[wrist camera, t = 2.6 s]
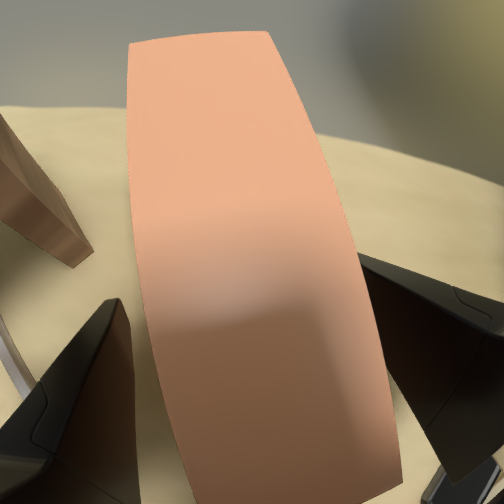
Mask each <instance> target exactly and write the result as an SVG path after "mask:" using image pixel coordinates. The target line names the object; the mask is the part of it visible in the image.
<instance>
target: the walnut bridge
mask: <svg viewBox="0 0 504 504" xmlns="http://www.w3.org/2000/svg"><path fill="white" fill-rule="evenodd" d="M0 220H1V221H3V222H4V223H6V224H7V225H8V226H10V227H11V228H13V229H14V230H15V231H17V232H18V233H20V234H21V235H22V236H24V237H25V238H27V239H28V240H30V241H31V242H33V243H34V244H36V245H37V246H39V247H40V248H42V249H43V250H45V251H46V252H48V253H49V254H51V255H52V256H54V257H55V258H57V259H59V260H60V261H62V262H63V263H65V264H66V265H68V266H70V267H71V268H74V267H75V266H77V265H78V264H79V263H80V262H82V261H83V260H84V259H85V258H87V257H88V256H89V255H90V254H92V253H93V252H94V250H93V249H92V247H91V245H90V244H89V242H88V240H87V239H86V237H85V235H84V234H83V232H82V230H81V229H80V227H79V225H78V223H77V222H76V220H75V218H74V216H73V214H72V213H71V211H70V209H69V207H68V205H67V203H66V202H65V200H64V198H63V196H62V194H61V192H60V191H59V190H58V189H57V187H56V186H55V185H54V184H53V183H52V181H51V180H50V179H49V178H48V176H47V175H46V174H45V173H44V171H43V170H42V169H41V168H40V166H39V165H38V164H37V163H36V161H35V160H34V159H33V158H32V156H31V155H30V154H29V152H28V151H27V150H26V148H25V147H24V146H23V144H22V143H21V142H20V140H19V139H18V138H17V136H16V135H15V134H14V132H13V131H12V129H11V128H10V127H9V125H8V124H7V122H6V121H5V120H4V118H3V117H2V115H1V114H0ZM0 359H1V361H2V363H3V365H4V367H5V369H6V371H7V372H8V374H9V376H10V378H11V380H12V381H13V383H14V385H15V387H16V388H17V390H18V392H19V393H20V395H21V397H22V398H23V400H24V399H25V398H26V397H27V396H28V394H29V393H30V392H31V390H32V389H33V388H34V386H35V385H36V382H35V380H34V379H33V377H32V375H31V374H30V372H29V370H28V369H27V367H26V365H25V363H24V362H23V360H22V358H21V356H20V354H19V353H18V351H17V349H16V347H15V345H14V343H13V341H12V339H11V337H10V335H9V333H8V331H7V329H6V327H5V325H4V323H3V320H2V318H1V316H0Z"/></svg>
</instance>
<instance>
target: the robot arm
mask: <svg viewBox="0 0 504 504" xmlns="http://www.w3.org/2000/svg"><path fill="white" fill-rule="evenodd" d="M357 255H358V258H359V261H360V265H361V268H362V272H363V275H364V279H365V282H366V286H367V290H368V293H369V297H370V301H371V305H372V309H373V313H374V317H375V321H376V325H377V329H378V333H379V338H380V342H381V347H382V351H383V356H384V361H385V365H386V367H387V369H388V371H389V372H390V374H391V376H392V377H393V379H394V381H395V382H396V384H397V386H398V387H399V389H400V391H401V393H402V394H403V396H404V398H405V399H406V401H407V403H408V405H409V406H410V408H411V410H412V412H413V413H414V415H415V417H416V419H417V420H418V422H419V424H420V426H421V427H422V429H423V431H425V432H424V433H425V435H426V437H427V439H428V440H429V442H430V444H431V446H432V448H433V449H434V451H435V453H436V455H437V457H438V459H439V461H440V462H441V464H442V466H443V468H444V470H445V472H446V474H447V476H448V478H449V480H450V481H451V483H452V485H453V486H454V485H455V484H457V483H458V482H459V481H461V480H462V479H463V478H465V477H466V476H467V475H469V474H470V473H471V472H473V471H474V470H475V469H476V468H478V467H479V466H480V465H481V464H483V463H484V462H485V461H486V460H487V459H489V458H490V457H491V456H492V457H493V459H494V460H495V462H496V463H497V464H498V466H499V467H500V469H501V470H502V472H503V473H504V303H502V302H499V301H496V300H493V299H489V298H486V297H483V296H480V295H477V294H474V293H471V292H468V291H466V290H463V289H460V288H457V287H455V286H451V285H449V284H446V283H444V282H441V281H438V280H435V279H432V278H430V277H427V276H424V275H421V274H418V273H416V272H413V271H410V270H407V269H404V268H401V267H399V266H396V265H393V264H390V263H387V262H384V261H381V260H378V259H375V258H372V257H369V256H367V255H364V254H361V253H358V252H357ZM40 381H41V382H40ZM40 381H38V382H37V384H36V385H35V386H34V388H33V389H32V390H31V392H30V393H29V394H28V396H27V397H26V398H25V399H24V401H23V402H22V403H21V405H20V406H19V407H18V408H17V409H16V411H15V412H14V413H13V414H12V415H11V417H10V418H9V419H8V420H7V421H6V422H5V424H4V425H3V426H2V427H1V428H0V504H141V498H140V489H139V478H138V466H137V452H136V432H135V374H134V363H133V353H132V342H131V329H130V323H129V320H128V317H127V315H126V312H125V309H124V307H123V304H122V302H121V300H120V299H119V298H114V299H108V300H105V301H104V302H103V303H102V305H101V306H100V307H99V308H98V309H97V310H96V311H95V313H94V314H93V315H92V316H91V317H90V318H89V320H88V321H87V322H86V323H85V324H84V325H83V327H82V328H81V329H80V330H79V331H78V333H77V334H76V335H75V336H74V337H73V339H72V340H71V341H70V342H69V343H68V345H67V346H66V347H65V348H64V350H63V351H62V352H61V353H60V355H59V356H58V357H57V358H56V360H55V361H54V362H53V363H52V365H51V366H50V367H49V368H48V370H47V371H46V372H45V373H44V375H43V376H42V377H41V379H40ZM487 504H504V489H503V490H502V491H500V492H499V493H498V494H497V495H496V496H495V497H494V498H493V499H492V500H491V501H490V502H488V503H487Z"/></svg>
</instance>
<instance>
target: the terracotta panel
mask: <svg viewBox="0 0 504 504" xmlns="http://www.w3.org/2000/svg"><path fill="white" fill-rule="evenodd" d="M127 151H128V173H129V189H130V202H131V214H132V224H133V234H134V242H135V251H136V259H137V266H138V273H139V280H140V287H141V293H142V299H143V305H144V311H145V316H146V322H147V327H148V332H149V337H150V342H151V347H152V352H153V356H154V361H155V365H156V370H157V374H158V378H159V382H160V386H161V390H162V394H163V398H164V402H165V406H166V409H167V413H168V417H169V420H170V424H171V427H172V431H173V434H174V437H175V441H176V444H177V447H178V450H179V453H180V456H181V460H182V463H183V466H184V469H185V471H186V474H187V477H188V480H189V483H190V486H191V488H192V491H193V494H194V496H195V499H196V502H197V504H361V503H364V502H366V501H368V500H370V499H372V498H374V497H376V496H378V495H380V494H382V493H384V492H386V491H388V490H390V489H392V488H394V487H396V486H398V485H400V484H401V483H403V478H402V468H401V459H400V450H399V442H398V435H397V428H396V421H395V415H394V409H393V403H392V397H391V391H390V386H389V381H388V375H387V370H386V365H385V361H384V356H383V351H382V347H381V342H380V338H379V333H378V329H377V325H376V321H375V317H374V313H373V309H372V305H371V301H370V297H369V293H368V290H367V286H366V282H365V279H364V275H363V272H362V268H361V265H360V261H359V258H358V255H357V251H356V248H355V245H354V241H353V238H352V235H351V232H350V229H349V226H348V223H347V220H346V217H345V214H344V211H343V208H342V205H341V202H340V199H339V196H338V193H337V190H336V188H335V185H334V182H333V179H332V177H331V174H330V171H329V168H328V166H327V163H326V161H325V158H324V155H323V153H322V150H321V148H320V145H319V143H318V140H317V138H316V135H315V133H314V130H313V128H312V126H311V123H310V121H309V118H308V116H307V114H306V111H305V109H304V107H303V105H302V102H301V100H300V98H299V95H298V93H297V91H296V89H295V86H294V84H293V82H292V80H291V78H290V76H289V74H288V71H287V70H286V67H285V66H284V63H283V61H282V59H281V57H280V55H279V53H278V51H277V49H276V47H275V45H274V43H273V41H272V39H271V37H270V35H269V33H268V31H239V32H238V31H236V32H216V33H203V34H192V35H183V36H174V37H167V38H160V39H154V40H148V41H143V42H137V43H132V44H129V56H128V76H127Z"/></svg>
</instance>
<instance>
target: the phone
mask: <svg viewBox="0 0 504 504" xmlns="http://www.w3.org/2000/svg"><path fill="white" fill-rule="evenodd" d="M500 472H501V469H500V467H499V466H498V464H497V463H496V462H495V460H494V459H493V457H492V456H491V457H490V458H489V459H487V460H486V461H485V462H484V463H483V464H481V465H480V466H479V467H478V468H476V469H475V470H474V471H473V472H471V473H470V474H469V475H467V476H466V477H465V478H463V479H462V480H461V481H459V482H458V483H457V484H455V485H454V486H453V485H452V483H451V481H450V480H449V478H448V476H447V474H446V472H445V470H444V468H443V466H442V464H441V466H440V467H439V469H438V471H437V472H436V474H435V476H434V477H433V479H432V481H431V482H430V484H429V485H428V487H427V489H426V490H425V492H424V494H423V495H422V498H421V504H483V502H484V501H485V499H486V497H487V496H488V494H489V492H490V491H491V489H492V487H493V485H494V483H495V482H496V480H497V478H498V476H499V474H500Z"/></svg>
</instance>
